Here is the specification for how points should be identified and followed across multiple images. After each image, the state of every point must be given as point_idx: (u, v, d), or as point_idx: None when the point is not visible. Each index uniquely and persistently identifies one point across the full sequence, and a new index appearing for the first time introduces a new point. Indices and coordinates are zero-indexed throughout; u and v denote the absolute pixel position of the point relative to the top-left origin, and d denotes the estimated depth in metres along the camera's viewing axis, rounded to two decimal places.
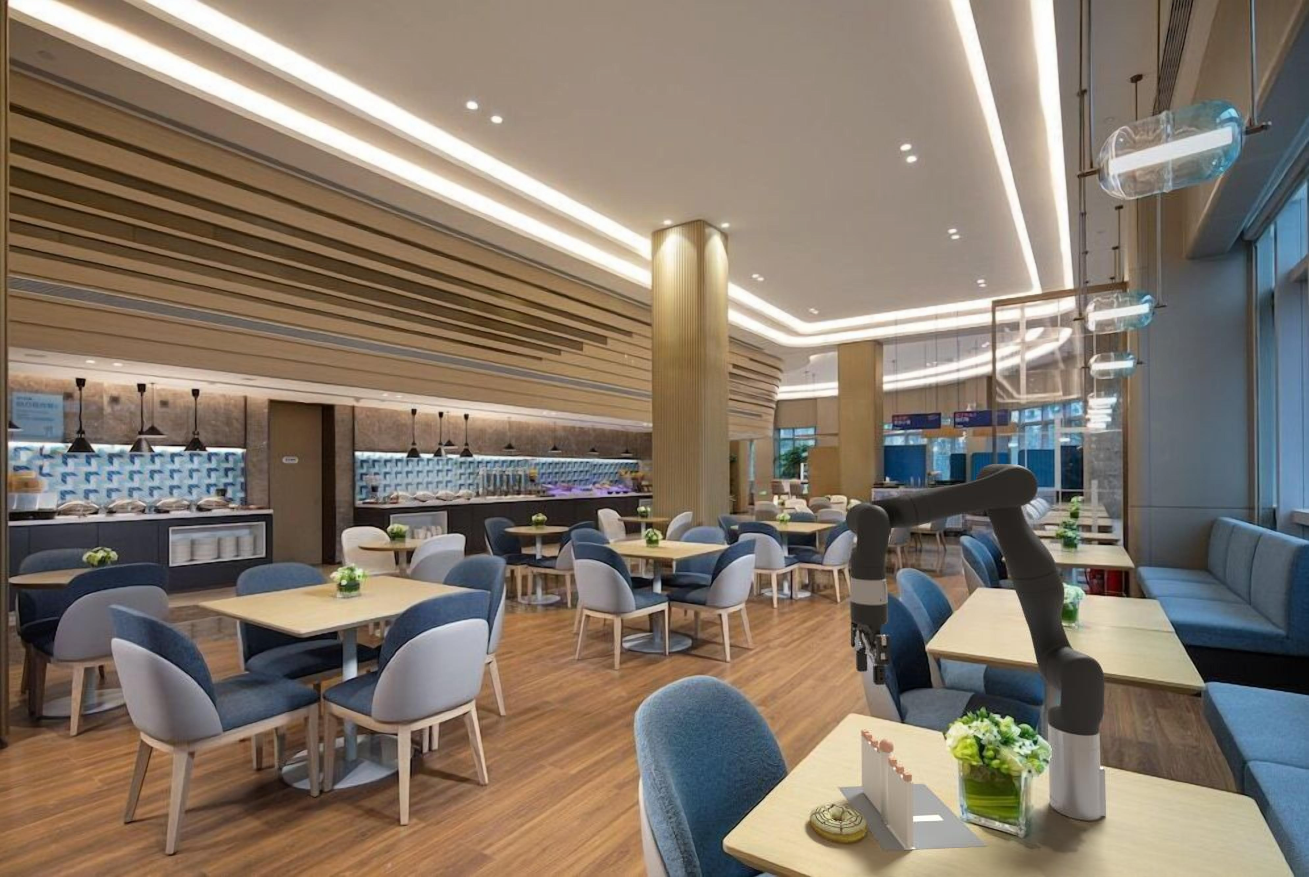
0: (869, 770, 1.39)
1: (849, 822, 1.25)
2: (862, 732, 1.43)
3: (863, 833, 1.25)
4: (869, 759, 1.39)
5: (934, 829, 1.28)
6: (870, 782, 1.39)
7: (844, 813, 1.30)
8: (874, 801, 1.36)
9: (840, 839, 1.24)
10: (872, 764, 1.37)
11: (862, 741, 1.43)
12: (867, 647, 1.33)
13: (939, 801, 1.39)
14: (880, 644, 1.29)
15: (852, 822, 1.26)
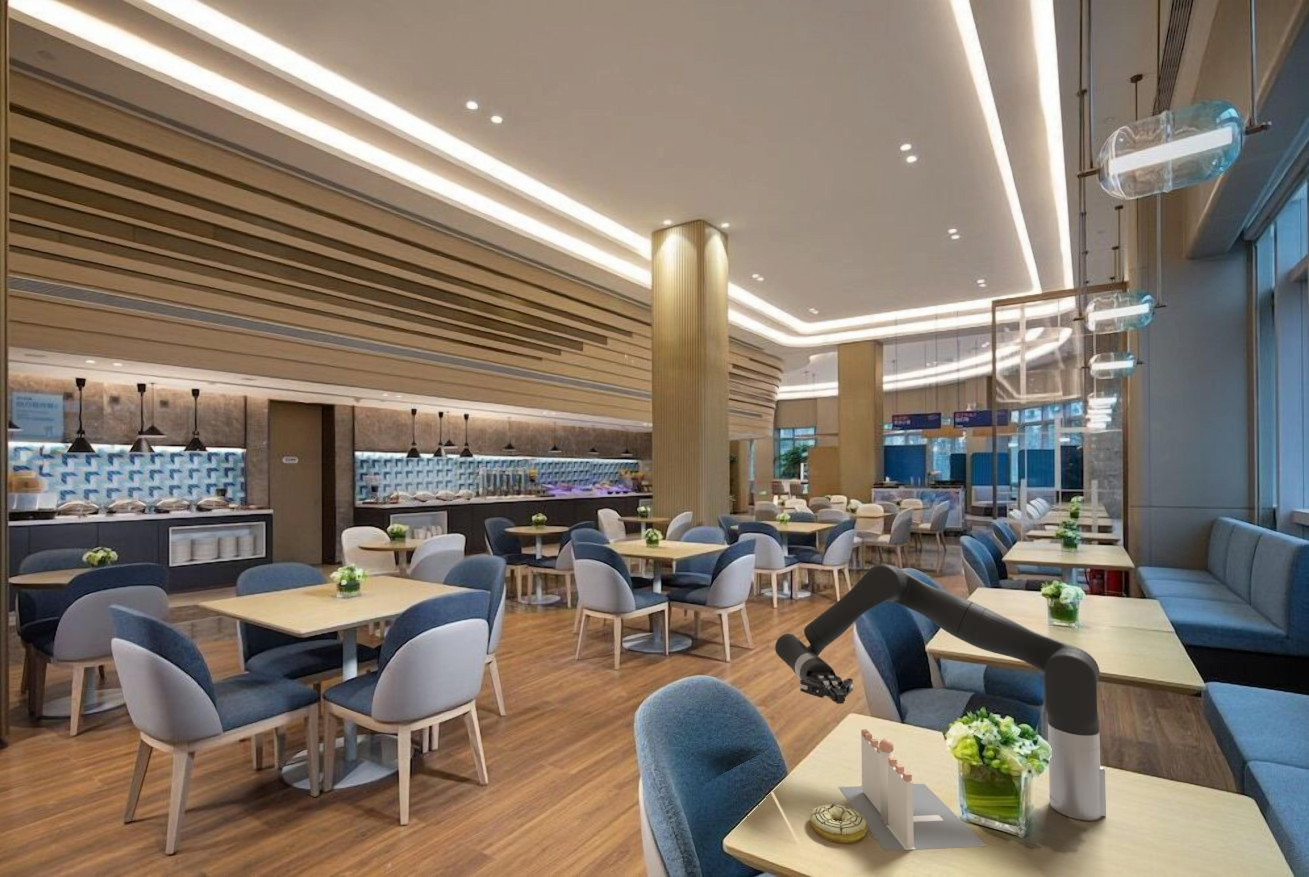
0: (869, 770, 1.39)
1: (849, 822, 1.25)
2: (862, 732, 1.43)
3: (863, 833, 1.25)
4: (869, 759, 1.39)
5: (934, 829, 1.28)
6: (870, 782, 1.39)
7: (844, 813, 1.30)
8: (874, 801, 1.36)
9: (840, 839, 1.24)
10: (872, 764, 1.37)
11: (862, 741, 1.43)
12: None
13: (939, 801, 1.39)
14: (805, 690, 1.47)
15: (852, 822, 1.26)
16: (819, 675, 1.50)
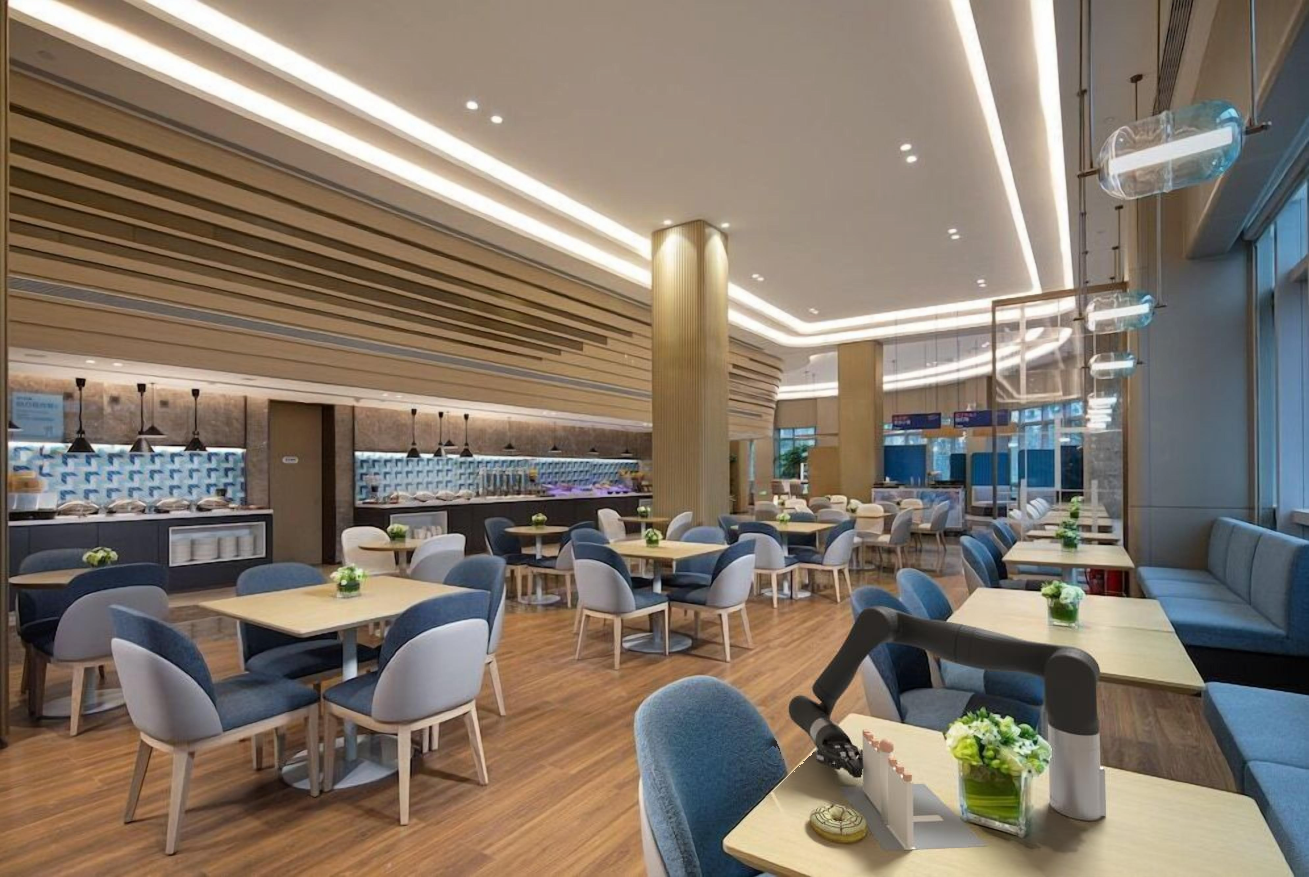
0: (870, 770, 1.39)
1: (849, 823, 1.25)
2: (863, 732, 1.43)
3: (863, 833, 1.25)
4: (870, 759, 1.39)
5: (934, 829, 1.28)
6: (870, 782, 1.39)
7: (844, 813, 1.30)
8: (875, 801, 1.36)
9: (840, 839, 1.24)
10: (873, 764, 1.38)
11: (863, 741, 1.43)
12: None
13: (939, 801, 1.39)
14: (822, 761, 1.47)
15: (852, 822, 1.26)
16: (835, 745, 1.49)
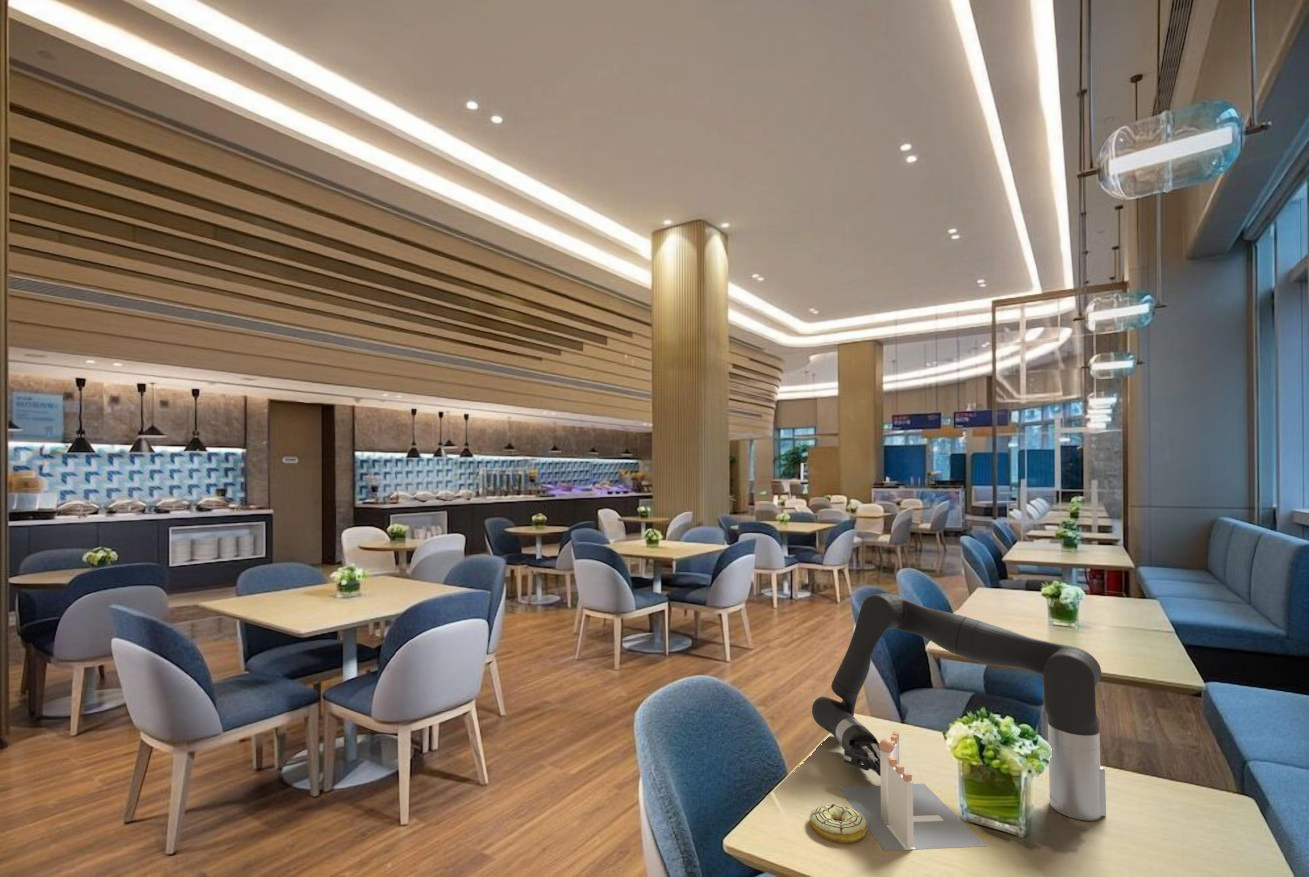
0: None
1: (849, 822, 1.25)
2: (892, 734, 1.42)
3: (863, 833, 1.25)
4: None
5: (934, 829, 1.28)
6: None
7: (844, 813, 1.30)
8: None
9: (840, 839, 1.24)
10: None
11: None
12: None
13: (939, 801, 1.39)
14: (850, 762, 1.46)
15: (852, 822, 1.26)
16: (863, 745, 1.49)
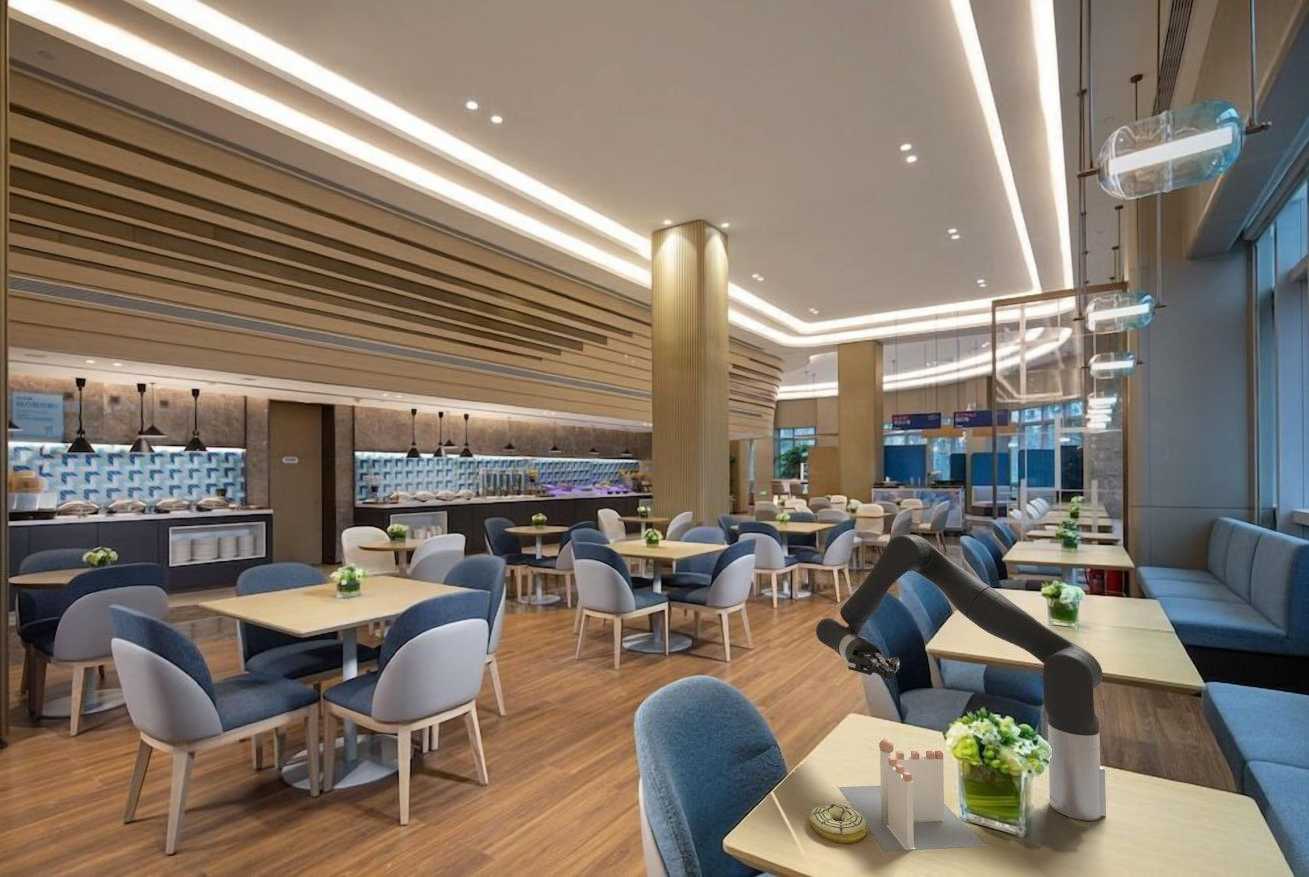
0: None
1: (849, 822, 1.25)
2: None
3: (863, 833, 1.25)
4: None
5: (934, 829, 1.28)
6: None
7: (844, 813, 1.30)
8: None
9: (840, 839, 1.24)
10: None
11: None
12: None
13: None
14: (854, 668, 1.51)
15: (852, 822, 1.26)
16: (866, 654, 1.54)
